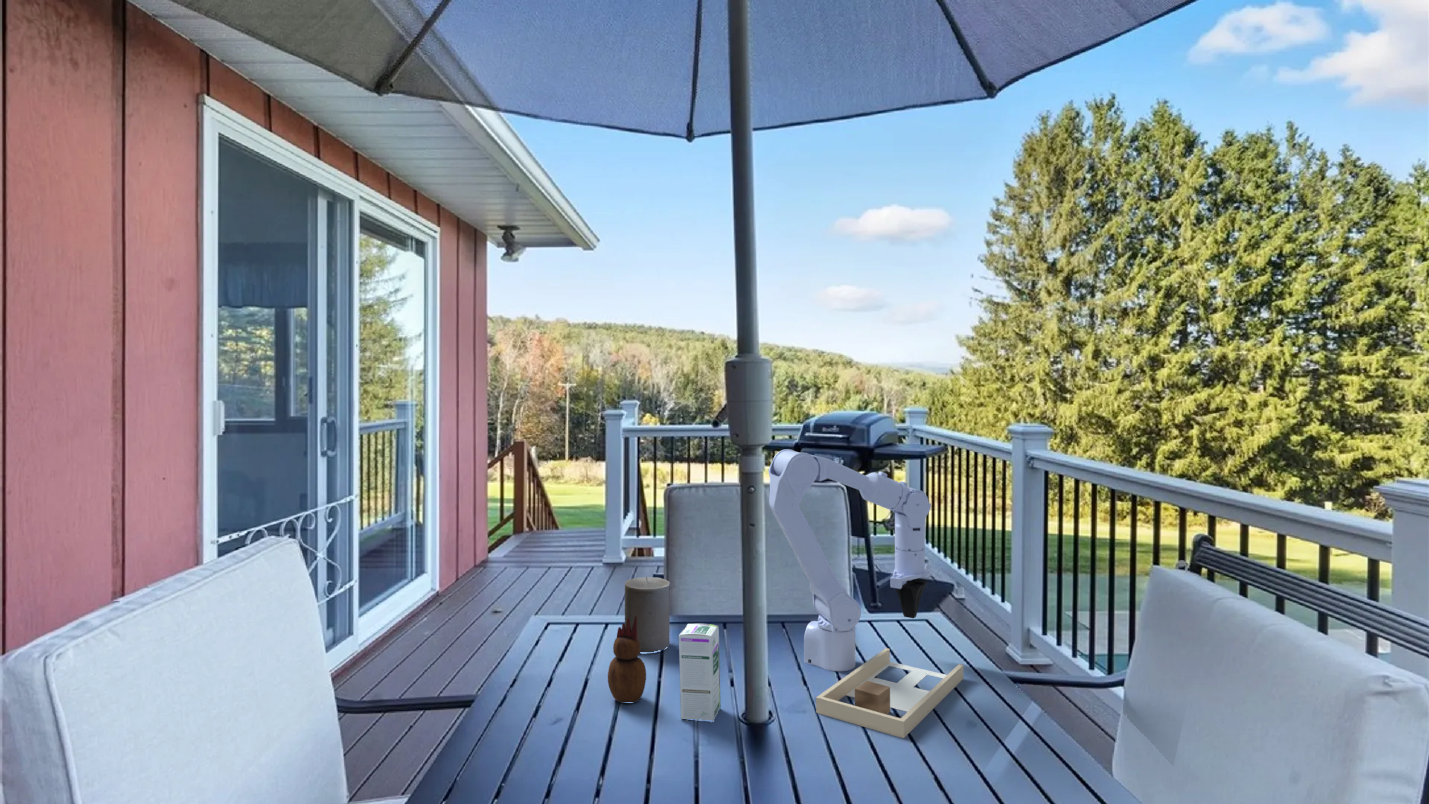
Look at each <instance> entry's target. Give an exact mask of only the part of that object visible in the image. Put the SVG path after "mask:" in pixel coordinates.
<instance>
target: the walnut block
mask: <svg viewBox="0 0 1429 804" xmlns="http://www.w3.org/2000/svg"><path fill="white" fill-rule="evenodd" d="M854 706H858V707H861V708H865V709H868V710H872V711H876V712H879V713H883V714H886V715H889V714H890V713H891V707H890V687H888V686H885V685H881V684H877V683H874V682H870V681H866V682H864V683H863V684H861V685H859V686H858V687H856V688H855V698H854Z"/></svg>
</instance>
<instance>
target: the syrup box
mask: <svg viewBox="0 0 1429 804" xmlns="http://www.w3.org/2000/svg"><path fill="white" fill-rule="evenodd" d="M719 633H720V631H719V625H716V624H709V623H687V624H686V626H685V628H683V629H682V631H681V632H680V633H679V635H678V645H679V646H678V650H679V653H678V655H679V657H678V658H679V690H680V691H679V692H680V693H679V696H680V697H679V698H680V699H679V700H680V719H681V720H682V719H697V720H699V719H702V720H712V721H713V720H714V719H716V718H717V716H718V714H719V712H720V710H719V708H720V709H721V669H720V668H721V667H720V666H721V665H720V664H721V663H720V636H719V635H720V634H719ZM718 711H719V712H718ZM716 715H717V716H716ZM715 717H716V718H715ZM714 721H715V720H714Z"/></svg>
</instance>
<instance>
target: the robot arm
mask: <svg viewBox="0 0 1429 804" xmlns="http://www.w3.org/2000/svg"><path fill="white" fill-rule="evenodd" d="M768 476H769V497H768V498H769V499H768V500H769V503H768V505H769V508H770V510H771V512H772V514H773V515H774V518H775V520H776V522H777V523H778V525H779V527H780V529H781V531H782V533H783V535H784V536H785V539H786V540H787V543H788V544H789V546H790V548H791V550H792V552H793V554H794V556H795V557H796V560H797V562H798V564H799V565H800V568H801V569H802V572H803V573H804V575H805V577H806V579H807V580H808V582H809V591H810V593H811V595H812V605H813V608H814V611H815V612H816V613H817V614H818V618H817V620H811V621H810V622H809V623H808V624H807V625H806V628H805V631H804V636H803V663H805V664H808V665H811V666H816V667H819V668H821V669H824V670H826V671H832V672H847V671H851V670H854V668H855V667H856V626H857V624H858V623H859V621H860V619H861V616H862V612H861V611H862V610H861V606H860V604H859V603H858V601H857V600H856V599H854V598H853V597H851V596H850V594H848V592H847V590H846V588H845V587H844V586H843V584H842V583H841V581H840V580H839V579H838V578H837V577H836V575H835V573H834V571H833V568H832V567H831V565H830V564H829V561H828V559H827V558H826V556H825V554H824V552H823V550H822V548H821V546H820V544H819V542H818V540H817V538H816V536H815V534H814V532H813V531H812V529H811V527H810V525H809V523H808V521H807V519H806V517H805V515H804V513H803V511H802V510H801V507H800V504H801V503H802V499H803V498H804V495H805V493H807V491H808V490H809V489H810V487H811V486H812V485H813V484H814V482H815V481H816V482H817V481H818V482H822V481H825V480H832V481H833V482H837V483H839V484H843V485H845V486H847V487H850V488H853V489H856V490H858V491H859V493H860V496H861V498H862V500H864V501H867V502H869V503H872V504H874V505H877V506H879V507H882V508H884V509H887V510H888V511H892V513H894V569H893V572H892V576H891V577H889V578H890V579H889V580H890V581H889V583H890V588H893V589H894V590H895V592H896V594H897V596H898V600H899V603H900V606H901V611H902V614H903V615H902V616H903V617H904V618H909V619H915V618H916V617H917V614H918V612H919V611H918V610H919V606H920V603H921V599H922V595H923V593H924V591H925V588H926V587H927V584H928V580H926V579H922V578H930V577H931V576H932V573H931V571H929V564H928V563H926V559H925V557H926V553H925V552H926V545H925V543H926V541H925V540H926V536H925V534H926V531H925V530H926V528H925V527H926V518H927V516H928V515H929V513H930V510H931V507H932V503H930V501H929V497H928V496H927V495H926V493H925V492H924V491H922V490H920V489H916V488H913V487H909V486H908V483H907V482H905V481H902V480H901V481H896V480H894V479H892V478H890V477H888V474H887V473H886V472H884V471H878V472H871V473H870V472H869V473H868V474H866V475H865V474H863V473H860V472H859V471H856V470H855V469H852V468H849V467H848V466H845V465H843V464H841V463H839V462H836V461H834V460H833V459H830V458H827V457H823V456H818V455H813V454H810V453H806V452H798V451H795V450H793V449H789V448H787V449H782V450H780V451H778V452H777V453H776V454H775V455H774V457H773V458H772V460H771V463H770V465H769V467H768Z"/></svg>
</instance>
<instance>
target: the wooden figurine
mask: <svg viewBox="0 0 1429 804" xmlns="http://www.w3.org/2000/svg"><path fill="white" fill-rule="evenodd" d="M612 650H613V655H614V656H615V657H613V659H612V660H611V661H610V663H609V666H608V670H607V683H608V688H609V690H610V694H611V695H612V697H613V698H614V700H616V701H617V702H618V701H620V702H619V703H621V702H634V703H636V701H637V702H638V701H639V700H640V699H641V698H642V697H643V694H644V691H645V688H646V681H647V670H646V665H645V663H644V661H643V659H642V658H641V657H639V655H640V654H639V653H640V641H639V639H638V638H637V616H635V618H634V622H633V626H632V630H631V626H630V620H629V618H627V625H626V628H625V622H624V623H622V625H621V626H619V627H617V633H616V638H615V639H614V642H613V647H612Z"/></svg>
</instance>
